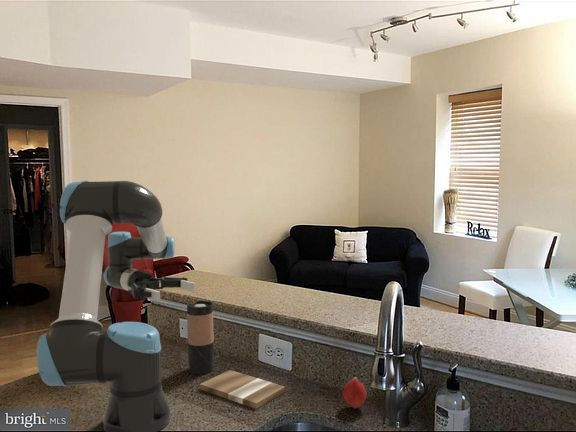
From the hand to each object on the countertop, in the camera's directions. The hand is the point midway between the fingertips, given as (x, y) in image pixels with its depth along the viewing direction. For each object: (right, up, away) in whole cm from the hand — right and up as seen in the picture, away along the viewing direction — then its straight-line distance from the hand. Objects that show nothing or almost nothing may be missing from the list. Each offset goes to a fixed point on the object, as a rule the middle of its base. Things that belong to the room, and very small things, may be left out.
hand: (177, 291), depth 156 cm
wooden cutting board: (+21, -24, -19) cm, 37 cm away
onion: (+50, -25, -29) cm, 63 cm away
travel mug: (+8, -23, -4) cm, 25 cm away
